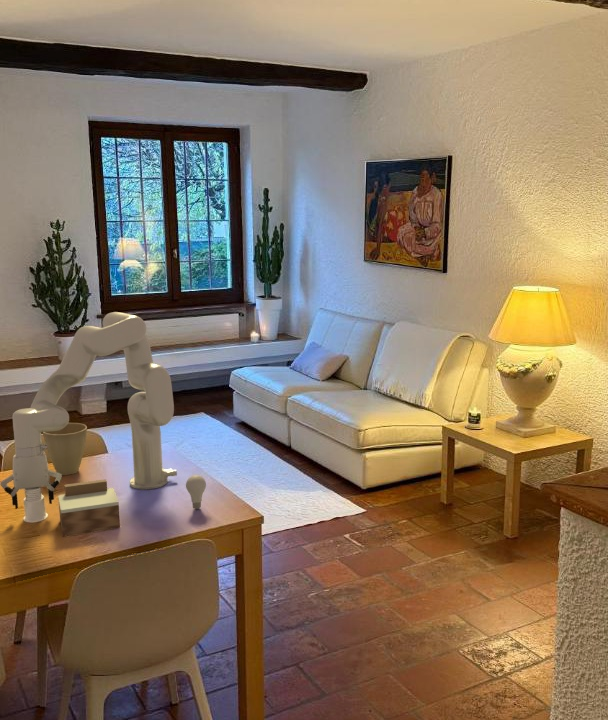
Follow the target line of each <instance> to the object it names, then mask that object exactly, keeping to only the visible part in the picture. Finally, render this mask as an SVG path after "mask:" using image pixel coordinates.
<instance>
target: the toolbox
mask: <svg viewBox="0 0 608 720" xmlns="http://www.w3.org/2000/svg"><path fill="white" fill-rule="evenodd" d="M58 510H59V522H60V528H61V535H62V538H64V537H71V536H77V535H83V534H89V533H96V532H103V531H108V530H109V531H110V530H115V529H120V528H121V519H120V504H119V505H116V506H109V507H102V508H95V509H88V510H81V511H75V512H68V513H61V510H60V504H59V503H58Z"/></svg>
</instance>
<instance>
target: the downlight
mask: <svg viewBox="0 0 608 720" xmlns="http://www.w3.org/2000/svg"><path fill="white" fill-rule="evenodd" d="M23 507H24V508H23V509H24V515H25V516H23V518H22V520H23V521H24V522H25V523H33V524H34V523H39V522H43V521H44V520H46V519H48V517H49V514H48V513H47V512H46V503H45V496H44V495H43V494H42V487H36V488H28V489H24V498H23Z"/></svg>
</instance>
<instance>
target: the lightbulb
mask: <svg viewBox="0 0 608 720" xmlns="http://www.w3.org/2000/svg"><path fill="white" fill-rule="evenodd" d="M185 482H186V483H185V488H186V490H187V492H188V493H189V496H190V499H191V502H192V508H193V509H194V510H199V509H200V508H201V506H202V501H203V495H204V493H205V489H206V487H207V483H206V480H205V478H204V477H203V476H201V475H199V474H193V475H191V476H189V477H188V479H187V480H186V481H185Z"/></svg>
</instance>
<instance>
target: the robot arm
mask: <svg viewBox="0 0 608 720" xmlns="http://www.w3.org/2000/svg"><path fill="white" fill-rule="evenodd" d="M146 332H147V326H146V323H145V321H144V319H142V317H139V316H138V315H134V314H129V313H125V312H118V311H113V312H109V313H107V314H106V315H105V316H104V317H103V320H102V327H97V326H93V325H85V326H82V327H80V328H78V329H77V330H76V332H75V334H74V335H73V338H72V339H71V342H70V344H69V346H68V348H67V350H66V352H65V354H64V356H63V358H62V360H61V362H60V364H59V366H58V368H56V370H55V371H54V372H53V373H52V374H51V375H50V376H49V377H48V378H47V379H46V380H45V381H44V382H43V383H42V384H41V385H40V386H39V388H38V390H37V392H36V395H35V396H34V399H33V401H32V402H31V405H30V407H29V408H28V407H27V408H20V409H18V410H15V411H14V412H13V413H12V428H13V438H14V447H15V449H14V450H15V451H14V452H15V454H14V455H13V456H12V474H11V475H9V476H8V477H6V478H5V479H3V480H1V481H0V486H1V488H2V489H3V490H4V492H5V493H8V495H10V496H11V501H12V506H14V507H15V510H17V509H19V503H18V491H19V490H25V489H28V488H36V487H41V488H43V487H46V488H47V489H48V490H47V493H48V502H49V503H48V504H49V505H50V504H51V505H52V504H53V501H54V500H55V497H54V491H55V489H56V488H57V487H58V486H59V484H60V482H61V480H62V477H63V475H62V474H60V473H57V472H56V471H54V470H51V469H49V463H48V457H47V453H46V451H45V450H47V445H46V444H45V443H43V441H42V433H43V432H48V431H58V430H61V429H63V428H64V427H65V426H66V425H67V424H68V423H70V422H69V421H70V414H69V413H68V411H67V410H66V409H65V408H64V407H62V406H59V405H58V402H59V400H60V398H61V397H62V395H63V394H65V392H66V391H67V390H68V389H71V388H72V387H74V386H75V385H78V384H81V383H82V382H84V381H85V380H86V378H87V377H88V374H89V372H90V370H91V369H92V366H93V364H94V361H95V359H96V358H97V356H98V357H105V356H109V355H112V354H114V353H117V352H119V351H121V350H123V353H124V357H125V368H126V374H127V380H128V383H129V385H130V386H131V387H132V388H134V389H136V390H139V392H136V393H134V394H132V396H131V397H129V399H128V402H127V414H128V418H129V423H130V428H131V442H132V443H131V444H132V461H133V463H132V464H133V476H134V477H132V478H131V479H130V480H129V486H130V487H131V488H133V489H137V490H145V491H146V490H154V489H159V488H161V487H163V486H165V485H167V484H168V482H169V479H168V477H175V476H178V472H177V469H172V468H168V469H165V468H164V467H163V450H162V433H161V427H164V426H166V425H169V423H170V422H171V421H172V419H173V416H174V413H175V412H174V411H175V404H174V395H173V394H174V393H173V386H172V379H171V375H170V373H169V371H168V370H167V369H166V368H165V367H164V366H163V365H160V364H156V363H155V362H154V360H153V355H152V349H151V345H150V340H149V339H148V336H147V335H146ZM51 477H53V478H55V479H54V481H53V482H50V481H51V480H50V478H51ZM11 482H12V484H13V487H12V488H11V487H9V486H8V484H9V483H11Z"/></svg>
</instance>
